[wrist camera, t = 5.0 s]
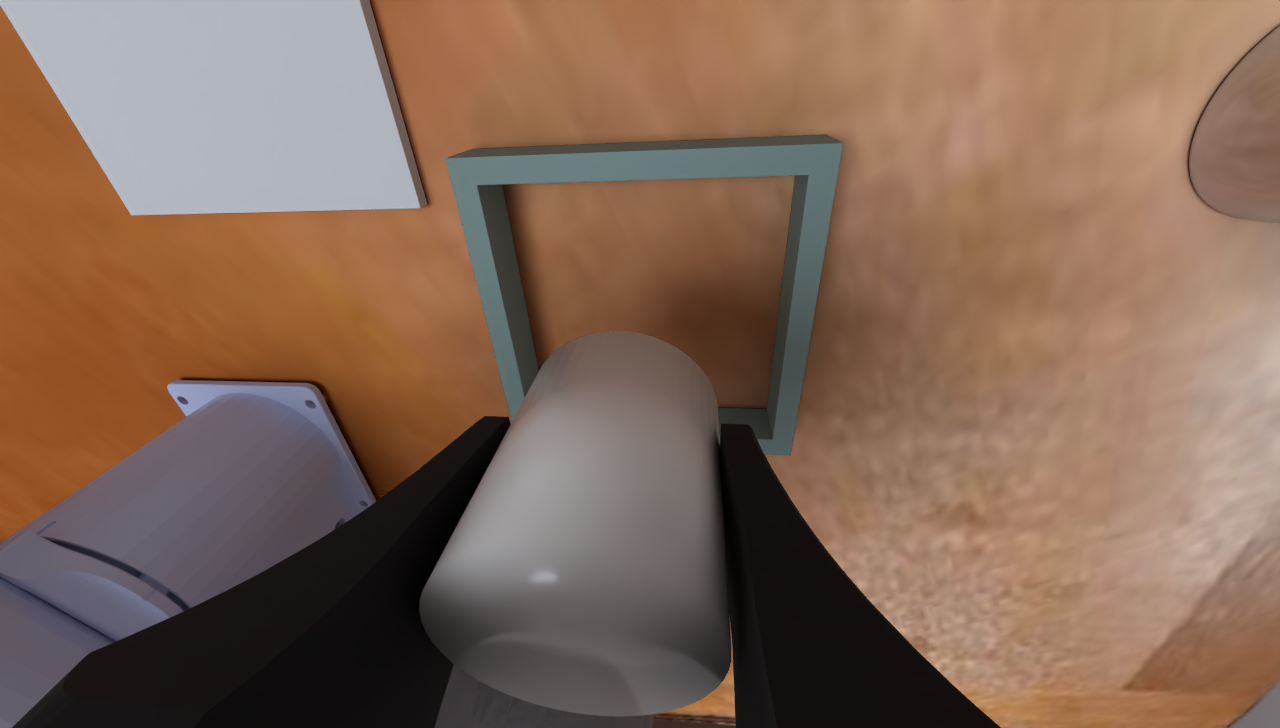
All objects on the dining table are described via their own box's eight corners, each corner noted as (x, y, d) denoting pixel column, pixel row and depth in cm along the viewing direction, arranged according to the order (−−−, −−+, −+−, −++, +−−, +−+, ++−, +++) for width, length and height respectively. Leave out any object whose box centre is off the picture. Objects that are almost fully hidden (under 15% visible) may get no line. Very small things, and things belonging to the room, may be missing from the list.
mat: (427, 204, 17) (420, 207, 17) (144, 211, 18) (131, 215, 18) (274, -333, 11) (256, -350, 10) (-142, -260, 12) (-172, -271, 12)
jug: (517, 329, 11) (373, 534, 6) (723, 332, 11) (744, 559, 6) (554, 510, 15) (480, 735, 10) (711, 519, 14) (717, 763, 9)
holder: (783, 424, 21) (790, 455, 19) (531, 416, 22) (517, 444, 20) (826, 134, 14) (842, 143, 13) (472, 148, 16) (445, 158, 14)
